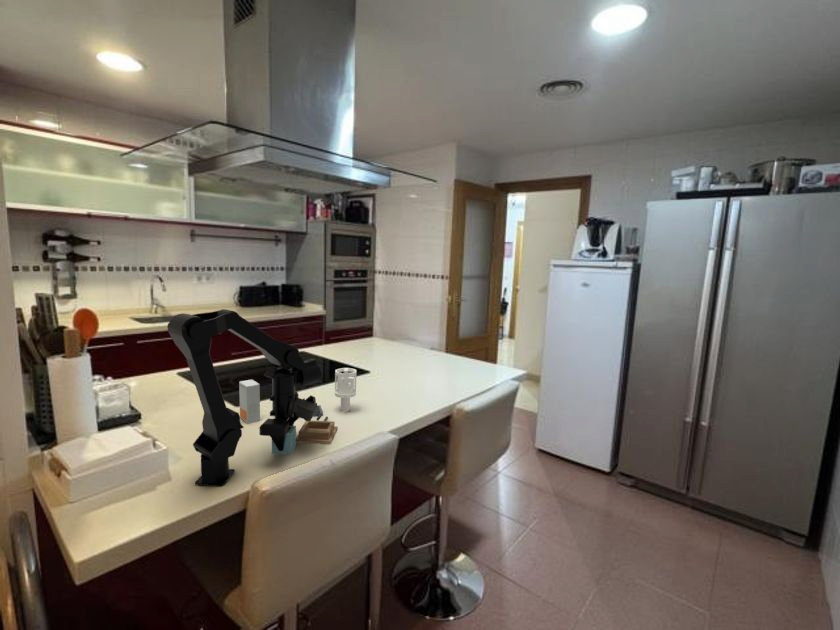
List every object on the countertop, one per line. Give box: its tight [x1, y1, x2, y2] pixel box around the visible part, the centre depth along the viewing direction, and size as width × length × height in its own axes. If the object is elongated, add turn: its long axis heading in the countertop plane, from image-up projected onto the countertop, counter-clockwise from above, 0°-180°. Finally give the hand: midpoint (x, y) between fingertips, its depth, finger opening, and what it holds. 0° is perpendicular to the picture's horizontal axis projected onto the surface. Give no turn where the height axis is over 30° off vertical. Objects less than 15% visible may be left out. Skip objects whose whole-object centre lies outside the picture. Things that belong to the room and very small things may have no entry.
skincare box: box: [238, 379, 261, 424], centre depth 128 cm, size 6×4×12 cm
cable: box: [316, 410, 329, 421], centre depth 131 cm, size 11×3×1 cm, turn 0°
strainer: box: [334, 367, 357, 413], centre depth 139 cm, size 7×7×15 cm
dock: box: [296, 420, 338, 445], centre depth 119 cm, size 10×10×3 cm
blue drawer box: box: [271, 425, 297, 455], centre depth 110 cm, size 4×5×6 cm
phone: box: [298, 404, 324, 419], centre depth 135 cm, size 7×14×1 cm, turn 110°
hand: (284, 446), depth 110 cm, fingers closed on blue drawer box, 4 cm apart
